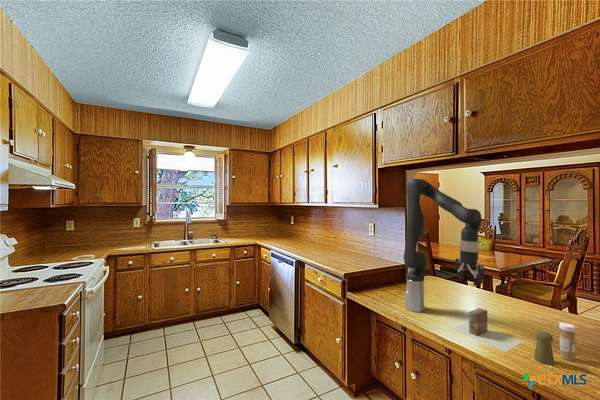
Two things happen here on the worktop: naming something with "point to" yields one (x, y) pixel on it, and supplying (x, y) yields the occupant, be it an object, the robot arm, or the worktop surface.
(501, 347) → the sage mat
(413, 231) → the robot arm
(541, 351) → the brown rounded upright piece
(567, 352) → the sprinkles bottle
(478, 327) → the teal and brown block
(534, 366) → the worktop surface
